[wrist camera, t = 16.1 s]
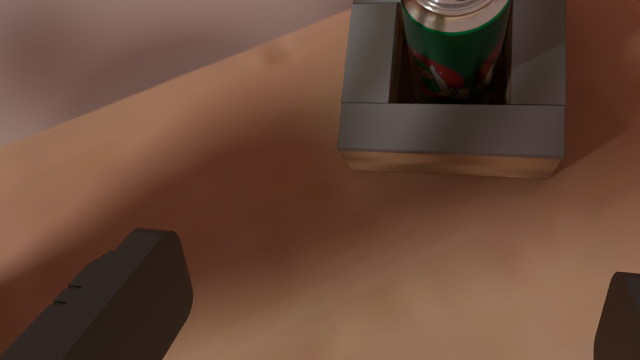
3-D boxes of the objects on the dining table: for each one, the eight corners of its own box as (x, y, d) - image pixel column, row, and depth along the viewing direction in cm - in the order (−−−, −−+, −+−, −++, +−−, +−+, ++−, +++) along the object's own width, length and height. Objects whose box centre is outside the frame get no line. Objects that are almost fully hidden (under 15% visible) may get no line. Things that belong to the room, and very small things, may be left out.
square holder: (350, 169, 34) (336, 147, 29) (367, 6, 37) (356, -36, 32) (549, 179, 31) (565, 155, 26) (550, 0, 34) (565, -48, 29)
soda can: (477, 41, 34) (492, -97, 23) (506, 108, 32) (536, -5, 21) (404, 68, 35) (383, -53, 24) (428, 134, 33) (418, 38, 22)
